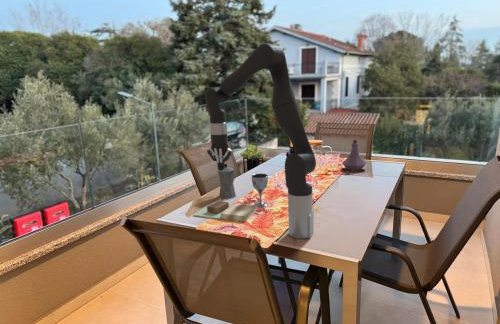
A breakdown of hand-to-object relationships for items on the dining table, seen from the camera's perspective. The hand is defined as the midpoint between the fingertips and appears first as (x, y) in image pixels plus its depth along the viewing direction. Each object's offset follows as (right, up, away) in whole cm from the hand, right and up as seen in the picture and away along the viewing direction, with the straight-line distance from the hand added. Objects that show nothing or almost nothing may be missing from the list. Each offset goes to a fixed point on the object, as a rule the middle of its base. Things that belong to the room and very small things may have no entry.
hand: (221, 170), depth 154 cm
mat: (-4, -20, +7) cm, 21 cm away
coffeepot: (0, -15, +29) cm, 33 cm away
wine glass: (+19, -18, +13) cm, 29 cm away
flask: (+84, -1, +72) cm, 110 cm away
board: (+8, -21, +2) cm, 22 cm away
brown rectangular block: (-2, -18, +6) cm, 19 cm away
